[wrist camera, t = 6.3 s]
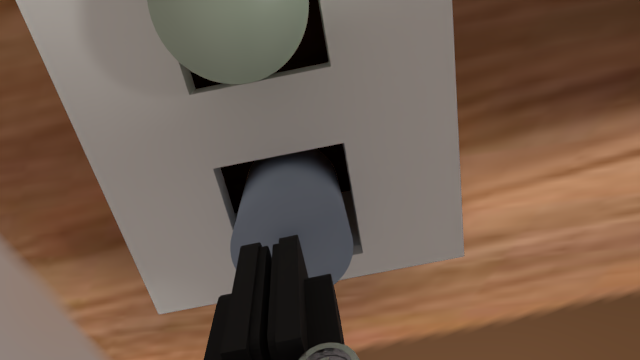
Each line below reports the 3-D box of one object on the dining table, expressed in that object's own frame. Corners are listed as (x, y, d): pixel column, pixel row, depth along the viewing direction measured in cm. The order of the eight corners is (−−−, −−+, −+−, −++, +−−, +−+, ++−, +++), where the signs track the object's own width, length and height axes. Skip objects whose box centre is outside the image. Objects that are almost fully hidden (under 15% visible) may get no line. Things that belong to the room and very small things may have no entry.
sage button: (291, -72, 14) (290, -107, 9) (313, 48, 16) (321, 68, 11) (177, -49, 14) (120, -72, 9) (211, 69, 16) (177, 97, 11)
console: (367, -398, 13) (419, -676, 8) (422, 193, 22) (464, 256, 17) (-15, -312, 14) (-222, -522, 8) (191, 238, 23) (158, 314, 17)
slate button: (329, 134, 17) (342, 183, 12) (344, 216, 19) (361, 286, 14) (235, 153, 17) (214, 208, 12) (259, 233, 19) (247, 308, 14)
